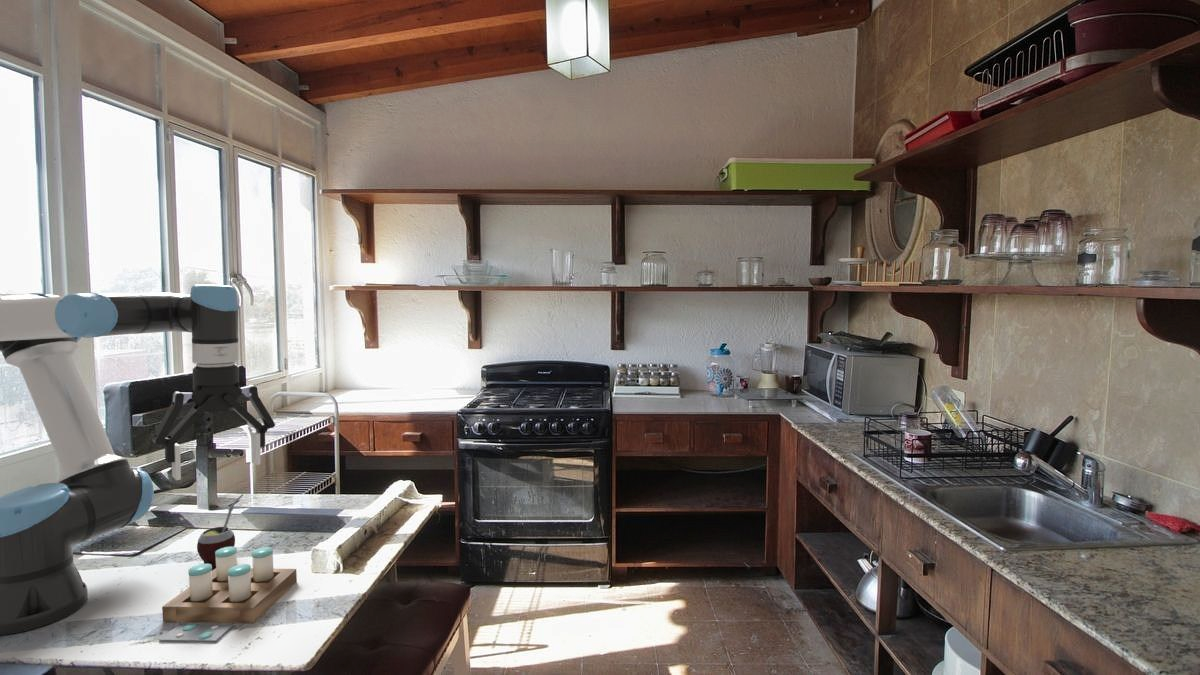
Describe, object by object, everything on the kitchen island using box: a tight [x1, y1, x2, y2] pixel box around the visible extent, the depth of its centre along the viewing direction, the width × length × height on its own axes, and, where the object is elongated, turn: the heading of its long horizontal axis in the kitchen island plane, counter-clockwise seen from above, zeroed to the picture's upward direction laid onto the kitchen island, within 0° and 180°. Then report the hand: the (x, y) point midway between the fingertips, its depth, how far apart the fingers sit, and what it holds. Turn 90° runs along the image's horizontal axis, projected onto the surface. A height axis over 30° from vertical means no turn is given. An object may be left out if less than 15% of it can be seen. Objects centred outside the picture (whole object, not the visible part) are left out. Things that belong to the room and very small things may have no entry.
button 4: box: [251, 546, 274, 582], centre depth 118 cm, size 4×4×6 cm
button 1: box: [188, 563, 213, 601], centre depth 110 cm, size 4×4×6 cm
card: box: [158, 622, 235, 644], centre depth 103 cm, size 10×5×1 cm, turn 90°
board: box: [161, 567, 298, 624], centre depth 114 cm, size 17×15×3 cm
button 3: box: [228, 563, 251, 602], centre depth 110 cm, size 4×4×6 cm
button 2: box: [215, 546, 238, 581], centre depth 118 cm, size 4×4×6 cm
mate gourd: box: [196, 493, 244, 571], centre depth 129 cm, size 8×8×15 cm
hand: (218, 470), depth 114 cm, fingers open, 13 cm apart
